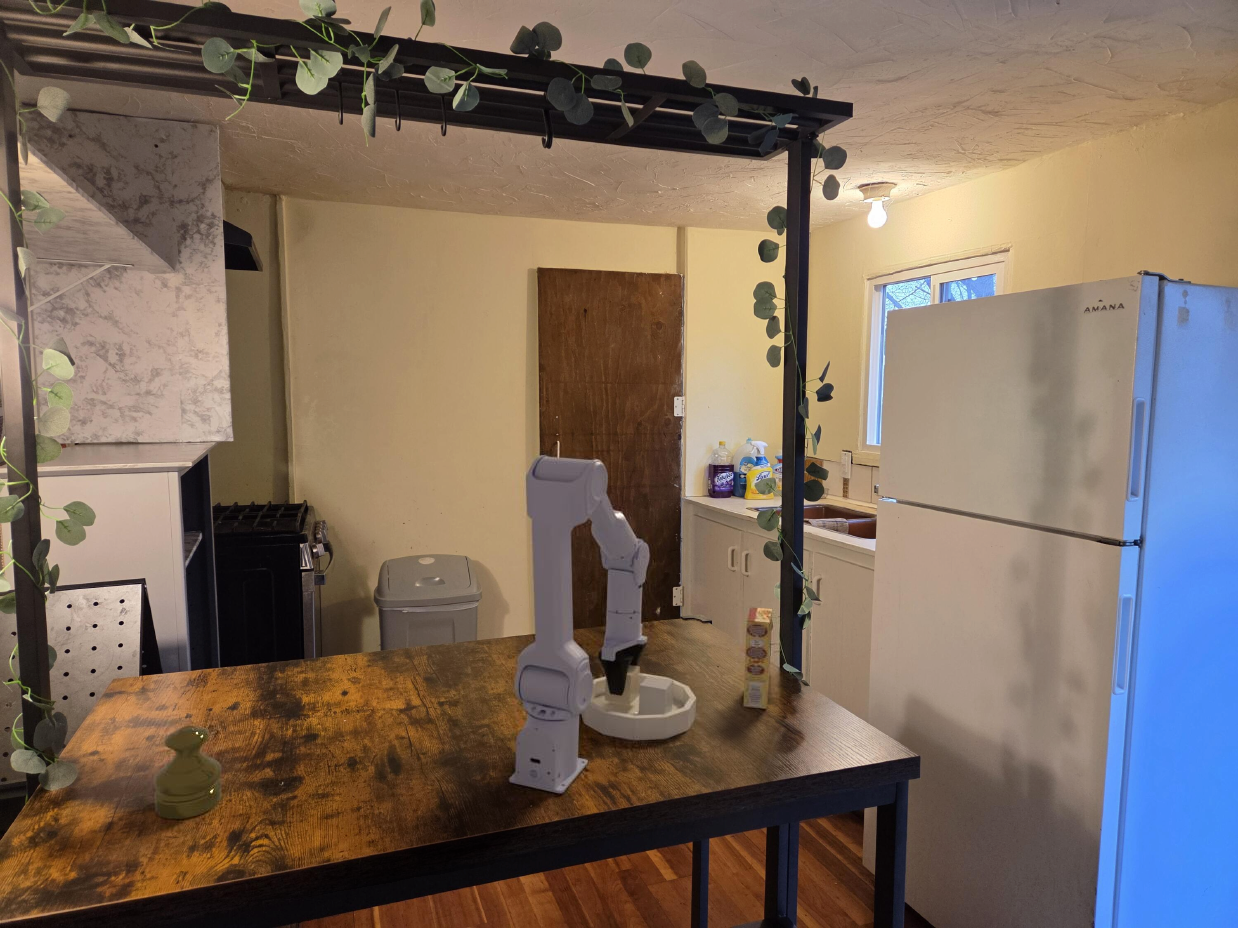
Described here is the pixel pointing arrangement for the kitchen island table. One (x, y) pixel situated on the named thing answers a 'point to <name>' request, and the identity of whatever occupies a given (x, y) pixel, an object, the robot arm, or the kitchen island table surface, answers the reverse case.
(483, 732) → the kitchen island table surface
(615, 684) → the robot arm
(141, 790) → the kitchen island table surface
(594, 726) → the bowl
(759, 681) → the candy box
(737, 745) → the kitchen island table surface
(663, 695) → the matte stone cube
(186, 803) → the olive green knobbed piece
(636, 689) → the cream rectangular block
